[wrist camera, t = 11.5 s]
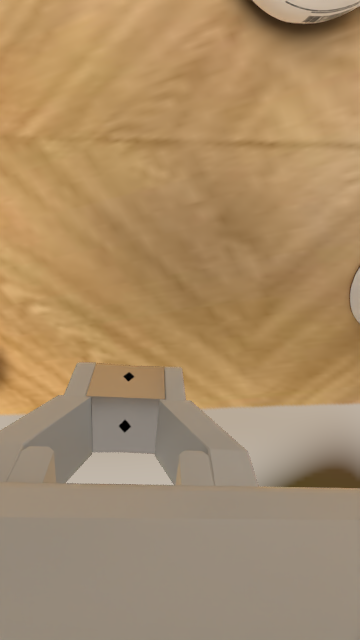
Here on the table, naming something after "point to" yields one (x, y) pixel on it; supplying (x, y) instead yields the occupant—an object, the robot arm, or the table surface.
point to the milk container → (306, 9)
